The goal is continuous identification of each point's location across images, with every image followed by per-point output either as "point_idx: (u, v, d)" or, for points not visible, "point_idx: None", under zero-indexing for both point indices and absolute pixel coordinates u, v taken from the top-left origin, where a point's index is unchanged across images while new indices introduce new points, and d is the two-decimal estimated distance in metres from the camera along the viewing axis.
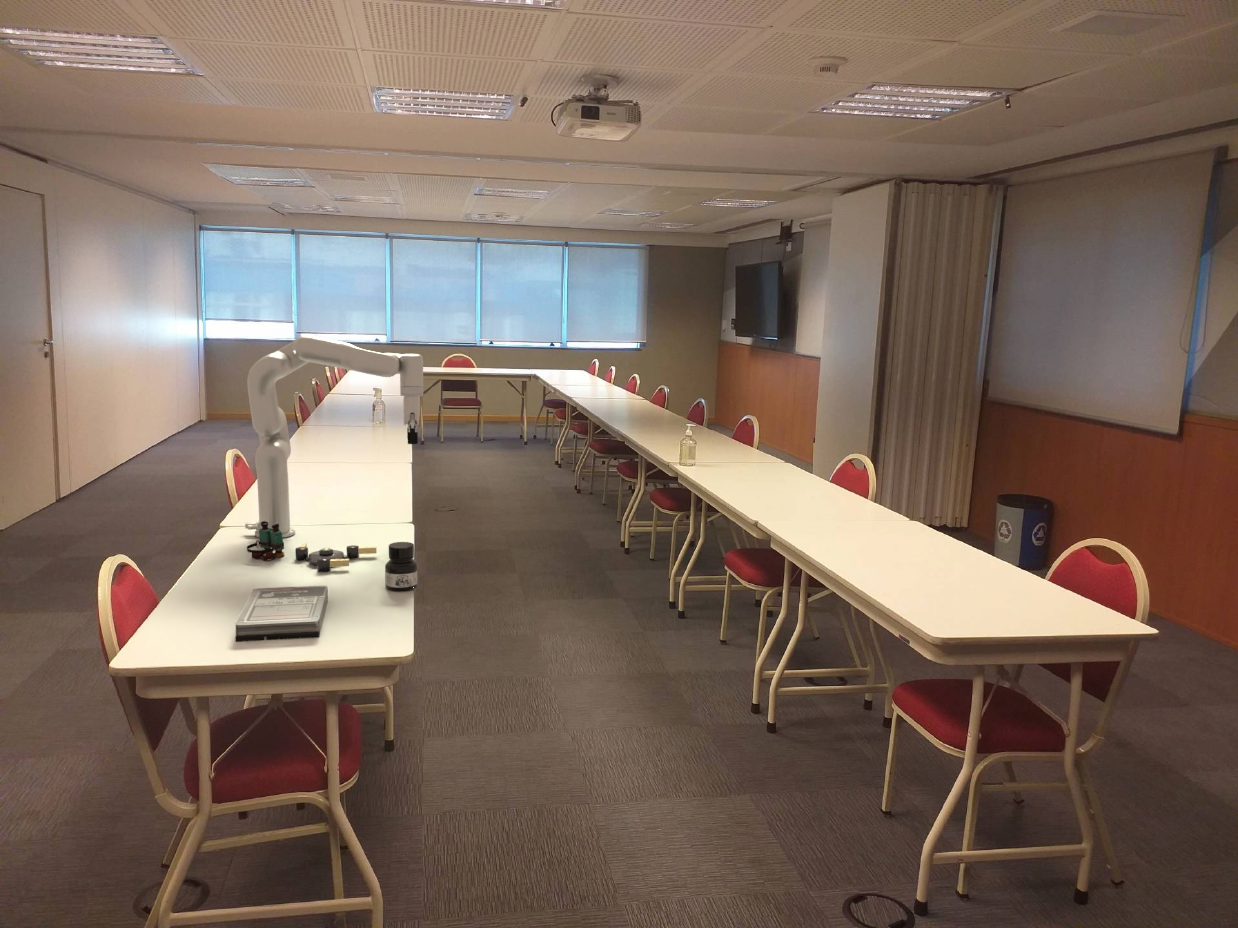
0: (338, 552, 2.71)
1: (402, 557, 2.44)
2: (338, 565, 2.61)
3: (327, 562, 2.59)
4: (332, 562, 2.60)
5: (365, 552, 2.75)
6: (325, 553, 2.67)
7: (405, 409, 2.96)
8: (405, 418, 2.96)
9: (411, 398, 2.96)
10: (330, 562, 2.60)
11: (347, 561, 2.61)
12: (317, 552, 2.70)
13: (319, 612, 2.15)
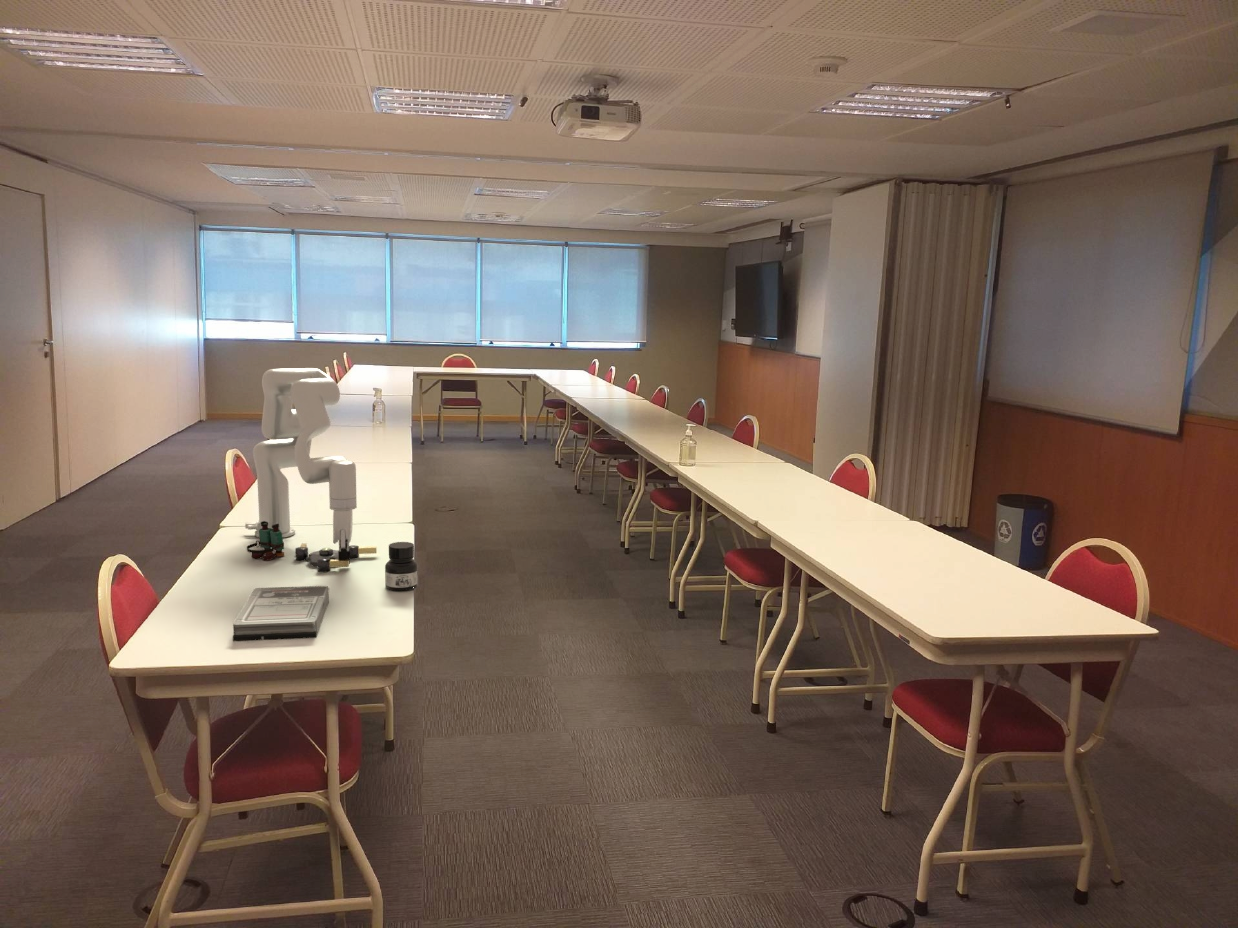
0: None
1: (402, 557, 2.44)
2: (337, 565, 2.60)
3: (326, 562, 2.59)
4: (332, 562, 2.60)
5: (365, 552, 2.75)
6: (325, 553, 2.67)
7: (334, 525, 2.57)
8: (334, 536, 2.57)
9: (341, 513, 2.56)
10: (330, 562, 2.60)
11: (346, 562, 2.61)
12: (317, 552, 2.70)
13: (317, 612, 2.15)
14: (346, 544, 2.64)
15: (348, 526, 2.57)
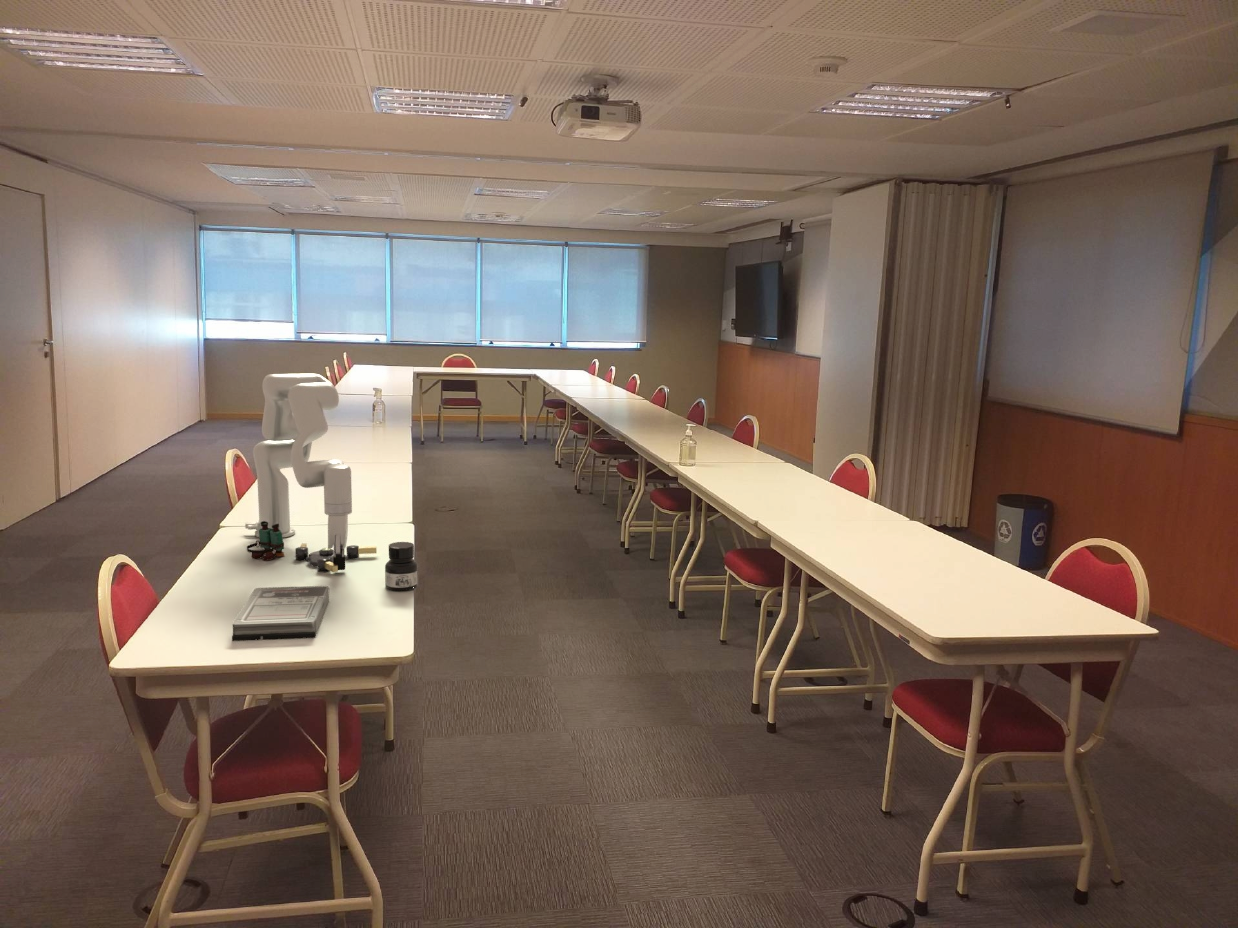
0: None
1: (402, 557, 2.44)
2: (328, 568, 2.57)
3: (321, 562, 2.59)
4: (325, 564, 2.58)
5: (365, 552, 2.75)
6: (325, 553, 2.67)
7: (329, 531, 2.52)
8: (329, 541, 2.53)
9: (336, 518, 2.52)
10: (324, 563, 2.59)
11: (332, 567, 2.55)
12: (317, 552, 2.70)
13: (316, 612, 2.15)
14: None
15: (343, 531, 2.53)
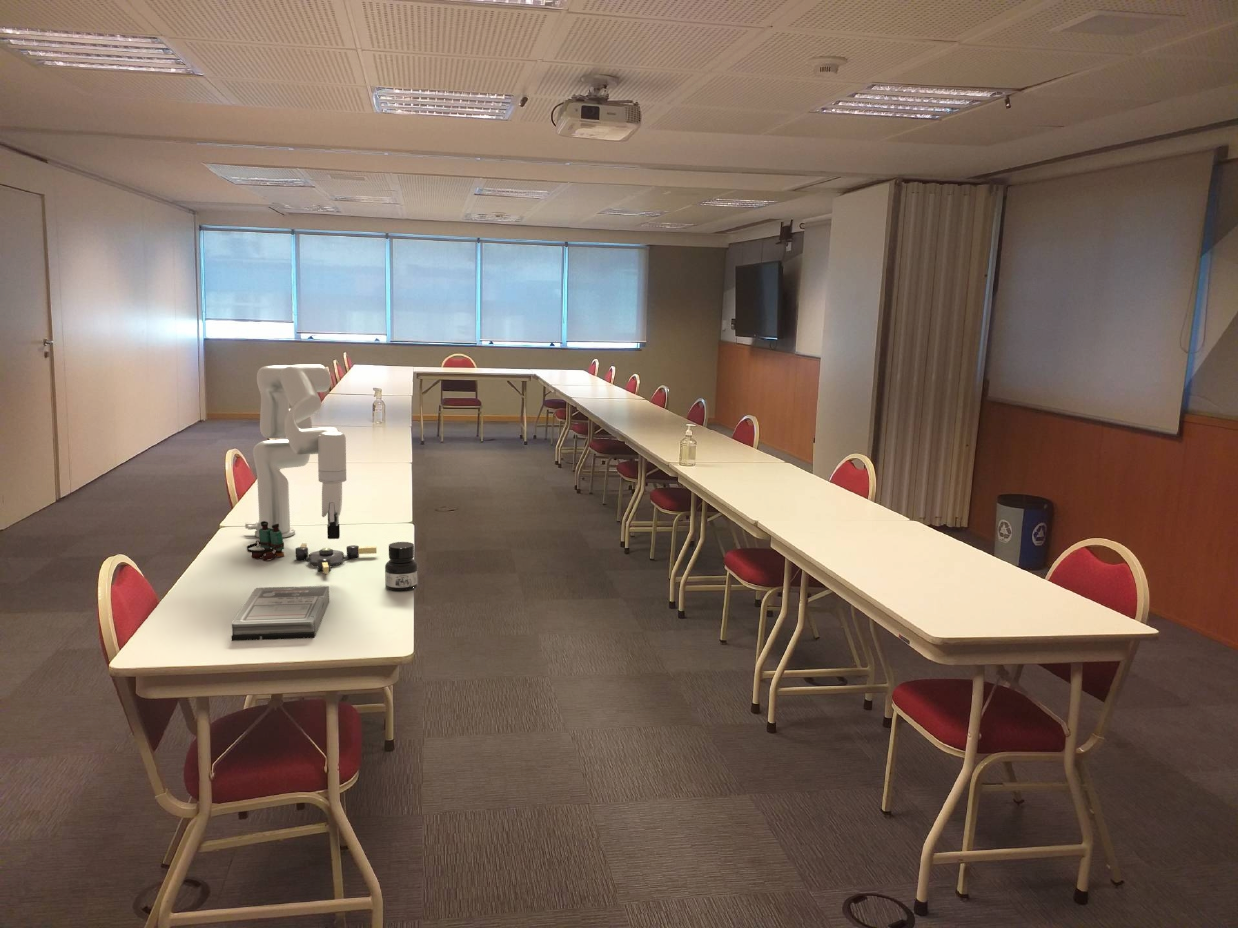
0: (338, 552, 2.71)
1: (402, 557, 2.44)
2: (322, 569, 2.57)
3: (319, 562, 2.59)
4: (322, 564, 2.58)
5: (365, 552, 2.75)
6: (325, 553, 2.67)
7: (323, 498, 2.49)
8: (323, 509, 2.49)
9: (330, 485, 2.49)
10: (321, 564, 2.58)
11: (323, 568, 2.54)
12: (317, 552, 2.70)
13: (316, 612, 2.15)
14: None
15: (337, 499, 2.50)
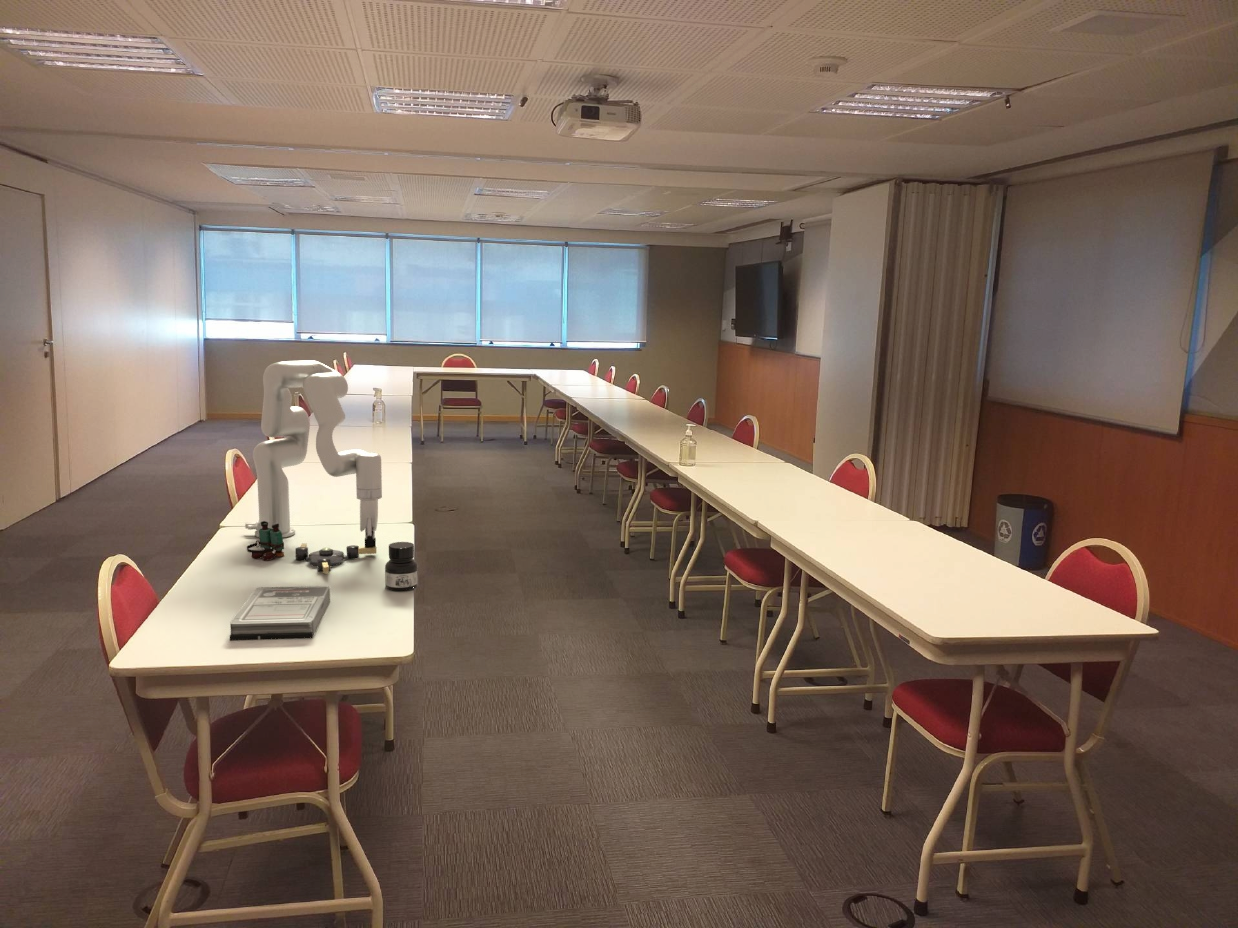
0: (338, 552, 2.71)
1: (402, 557, 2.44)
2: (322, 569, 2.57)
3: (319, 562, 2.59)
4: (322, 564, 2.58)
5: (365, 552, 2.75)
6: (325, 553, 2.67)
7: (361, 514, 2.71)
8: (361, 524, 2.71)
9: (367, 502, 2.71)
10: (321, 564, 2.58)
11: (323, 568, 2.54)
12: (317, 552, 2.70)
13: (315, 613, 2.14)
14: (372, 532, 2.78)
15: (374, 515, 2.72)
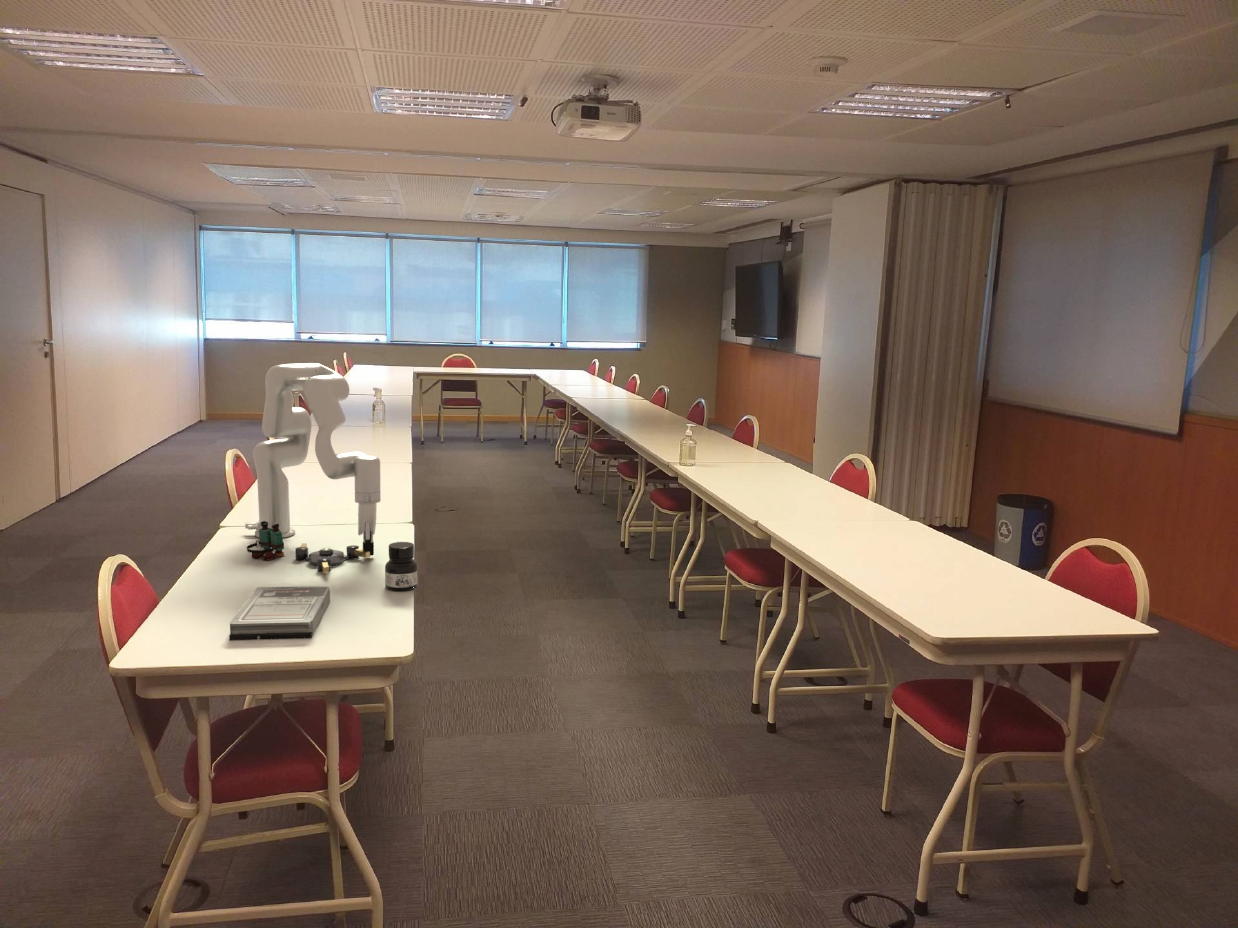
0: (338, 552, 2.71)
1: (402, 557, 2.44)
2: (322, 569, 2.57)
3: (319, 562, 2.59)
4: (322, 564, 2.58)
5: (359, 555, 2.72)
6: (325, 553, 2.67)
7: (359, 518, 2.67)
8: (359, 528, 2.68)
9: (366, 506, 2.67)
10: (321, 564, 2.58)
11: (323, 568, 2.54)
12: (317, 552, 2.70)
13: (314, 613, 2.14)
14: None
15: (373, 519, 2.68)
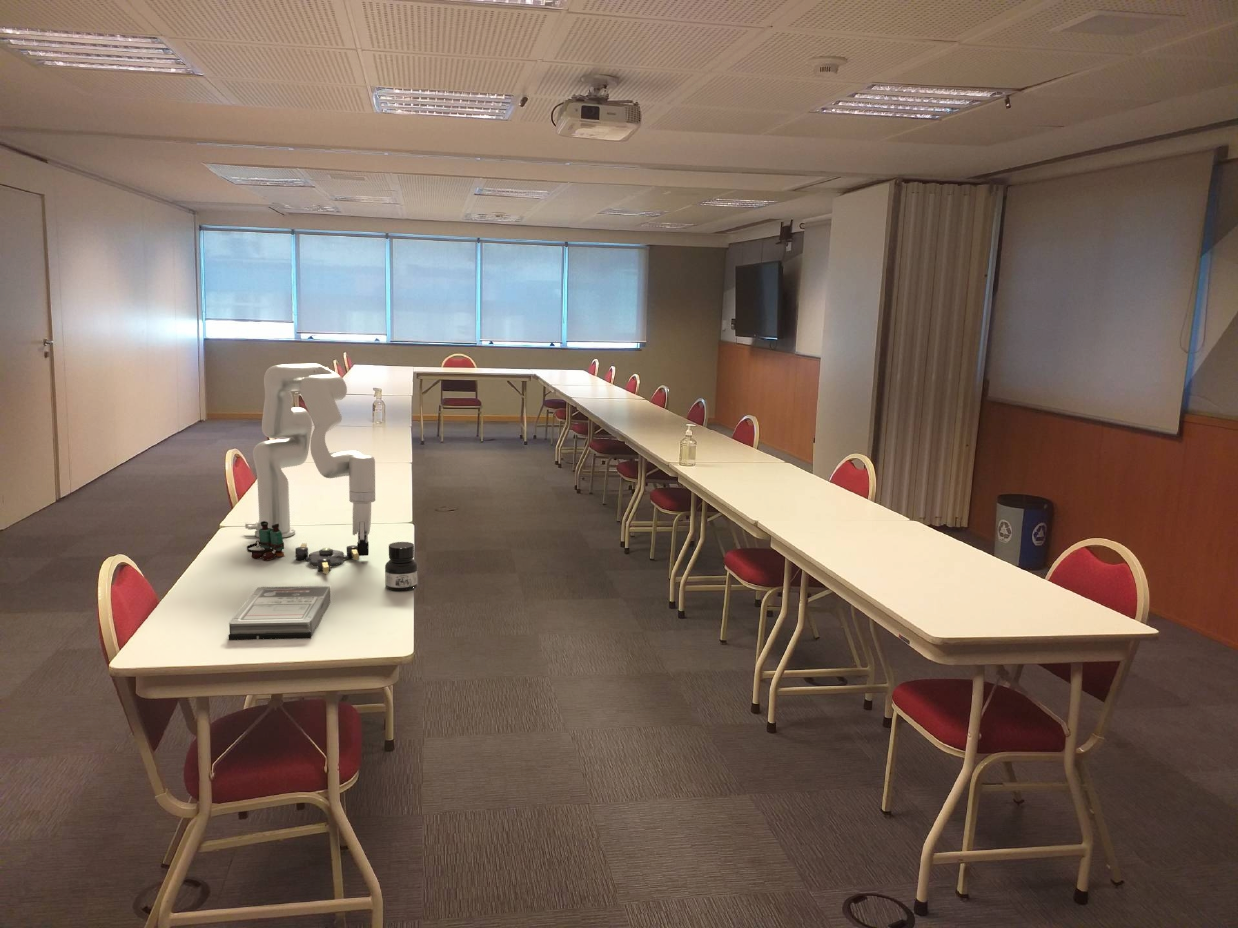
0: (338, 552, 2.71)
1: (402, 557, 2.44)
2: (322, 569, 2.57)
3: (319, 562, 2.59)
4: (322, 564, 2.58)
5: (352, 555, 2.71)
6: (325, 553, 2.67)
7: (354, 518, 2.64)
8: (354, 528, 2.65)
9: (360, 505, 2.64)
10: (321, 564, 2.58)
11: (323, 568, 2.54)
12: (317, 552, 2.70)
13: (314, 613, 2.14)
14: (365, 536, 2.72)
15: (367, 518, 2.65)
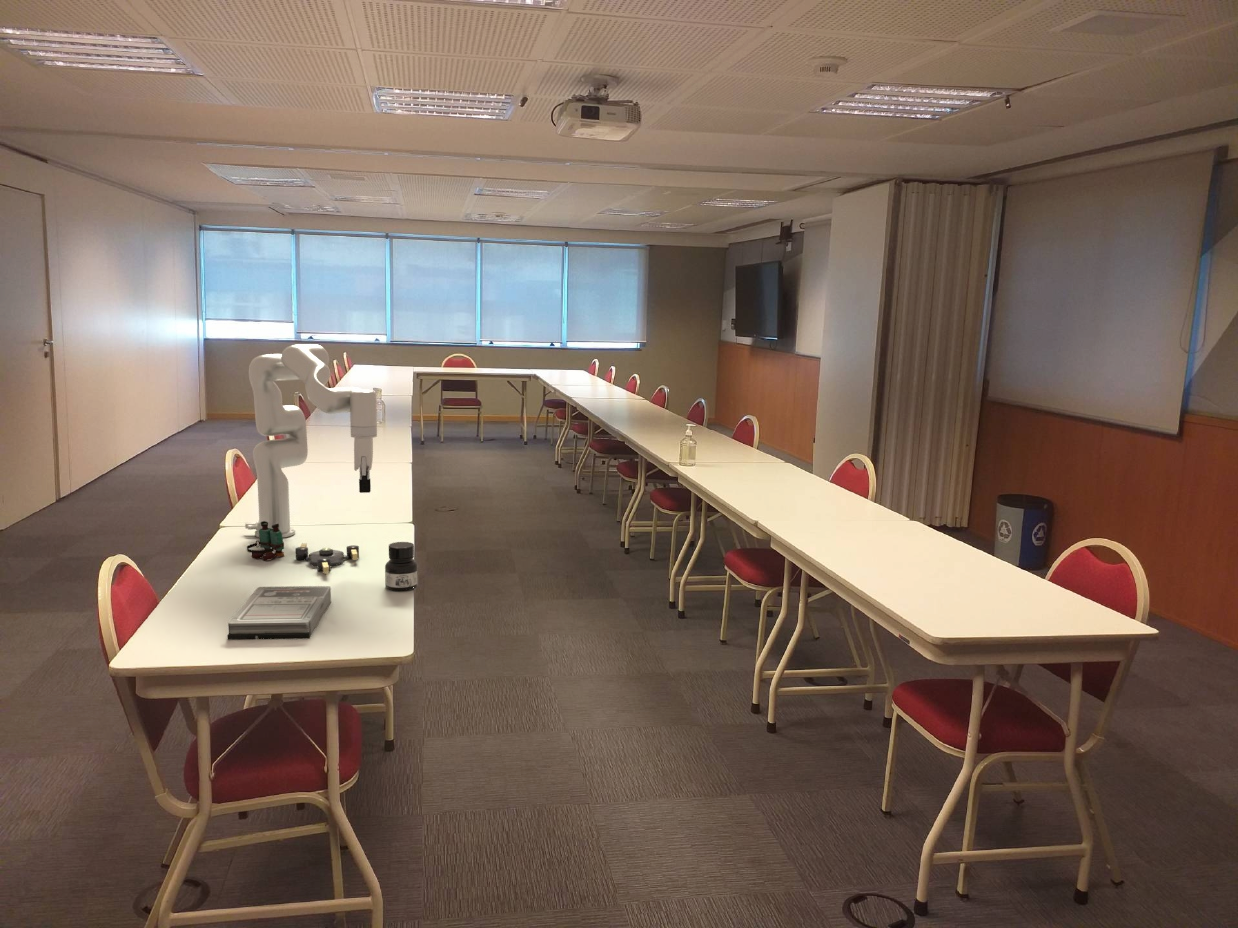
0: (338, 552, 2.71)
1: (402, 557, 2.44)
2: (322, 569, 2.57)
3: (319, 562, 2.59)
4: (322, 564, 2.58)
5: (351, 555, 2.71)
6: (325, 553, 2.67)
7: (355, 452, 2.62)
8: (355, 463, 2.62)
9: (362, 440, 2.62)
10: (321, 564, 2.58)
11: (323, 568, 2.54)
12: (317, 552, 2.70)
13: (313, 613, 2.14)
14: None
15: (369, 453, 2.63)
